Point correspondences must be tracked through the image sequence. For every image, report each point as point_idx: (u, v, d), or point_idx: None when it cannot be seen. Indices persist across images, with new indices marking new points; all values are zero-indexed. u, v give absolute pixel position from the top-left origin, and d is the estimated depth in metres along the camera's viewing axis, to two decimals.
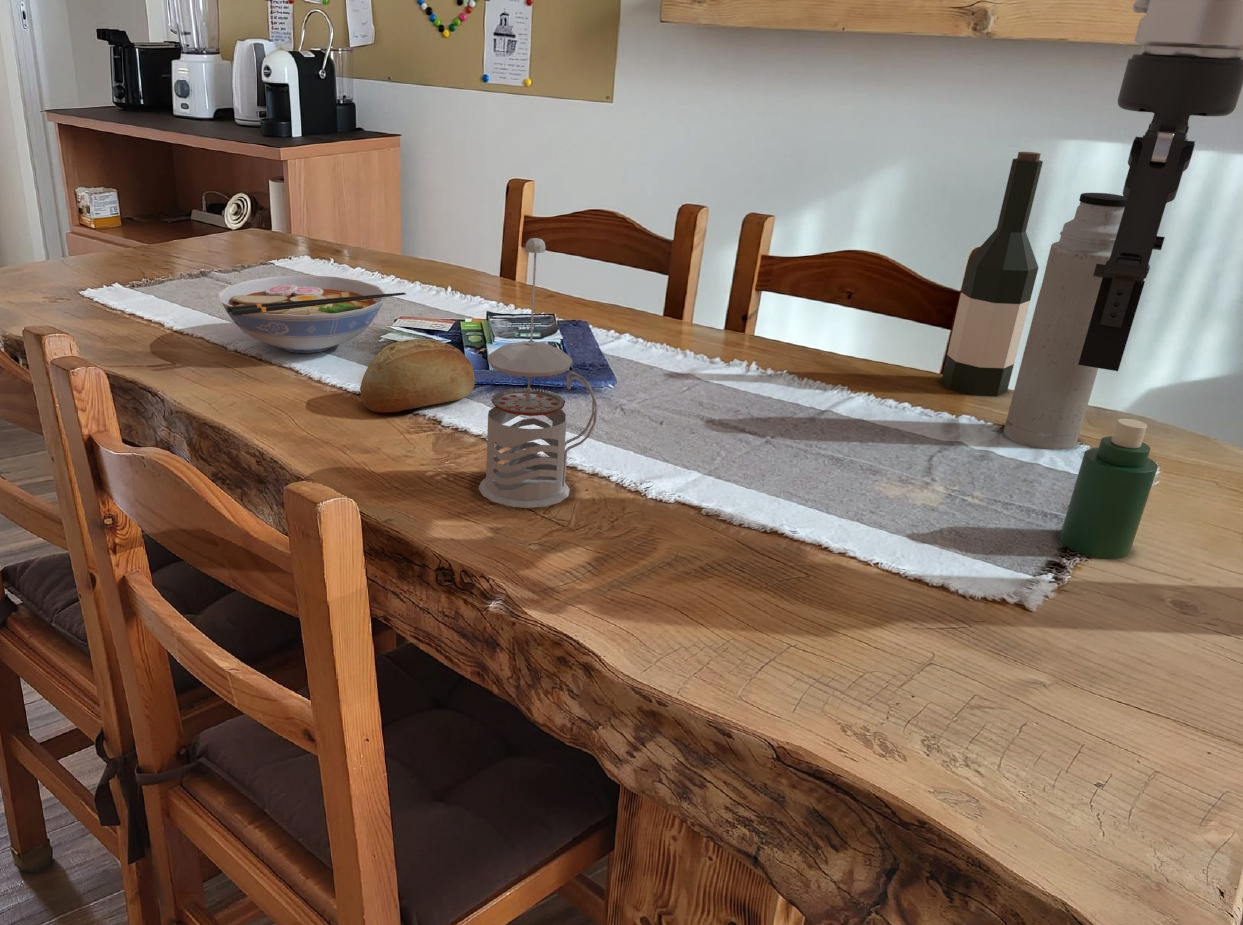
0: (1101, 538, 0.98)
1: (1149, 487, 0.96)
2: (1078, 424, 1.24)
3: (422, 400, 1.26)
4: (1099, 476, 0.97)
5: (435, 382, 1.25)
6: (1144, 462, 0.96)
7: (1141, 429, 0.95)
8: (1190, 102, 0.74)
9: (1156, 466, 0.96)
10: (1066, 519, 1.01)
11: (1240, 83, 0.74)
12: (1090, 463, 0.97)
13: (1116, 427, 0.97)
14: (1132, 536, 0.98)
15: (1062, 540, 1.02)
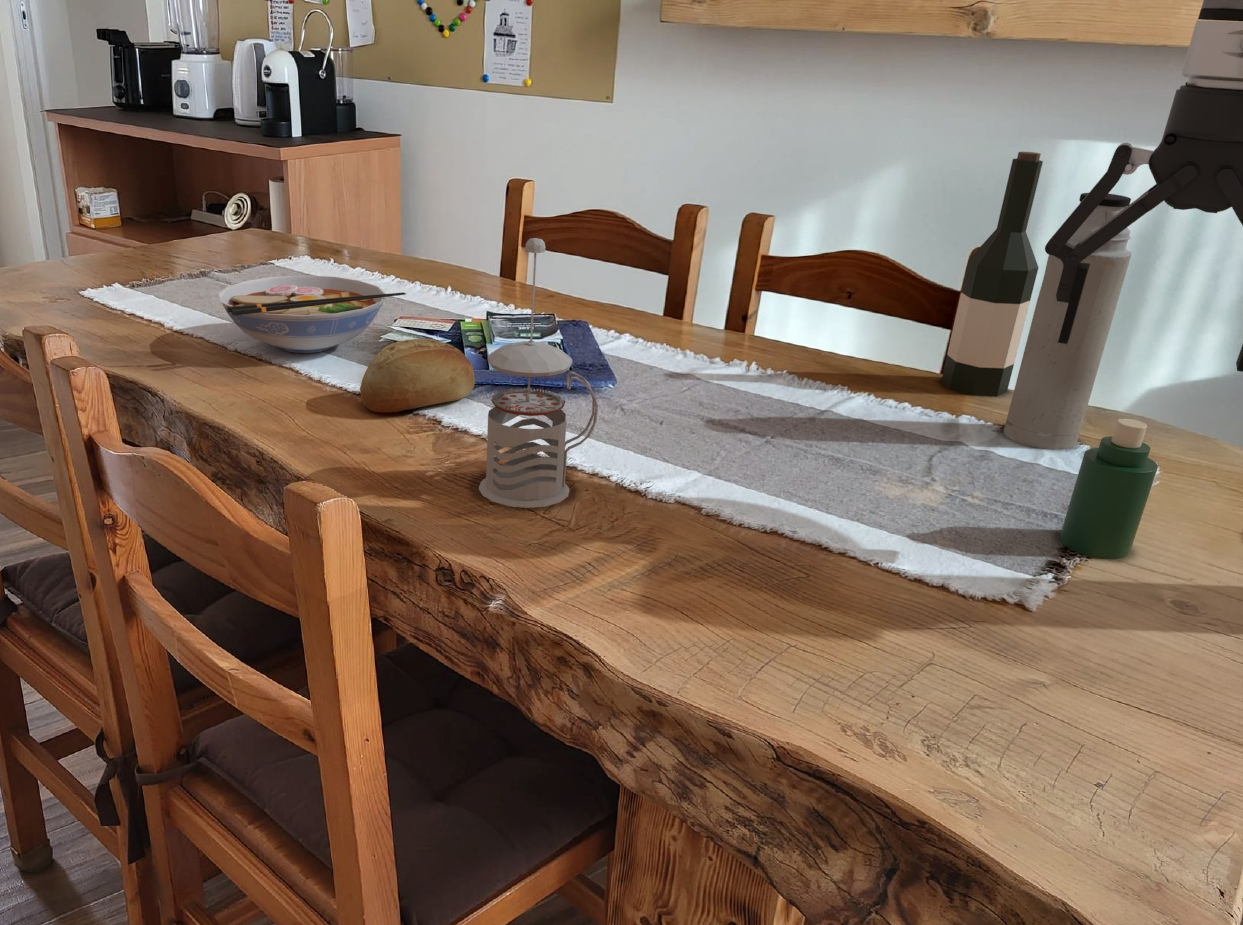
0: (1101, 538, 0.98)
1: (1149, 487, 0.96)
2: (1078, 424, 1.24)
3: (422, 400, 1.26)
4: (1099, 476, 0.97)
5: (435, 382, 1.25)
6: (1144, 462, 0.96)
7: (1141, 429, 0.95)
8: None
9: (1156, 466, 0.96)
10: (1066, 519, 1.01)
11: None
12: (1090, 463, 0.97)
13: (1116, 427, 0.97)
14: (1132, 536, 0.98)
15: (1062, 540, 1.02)
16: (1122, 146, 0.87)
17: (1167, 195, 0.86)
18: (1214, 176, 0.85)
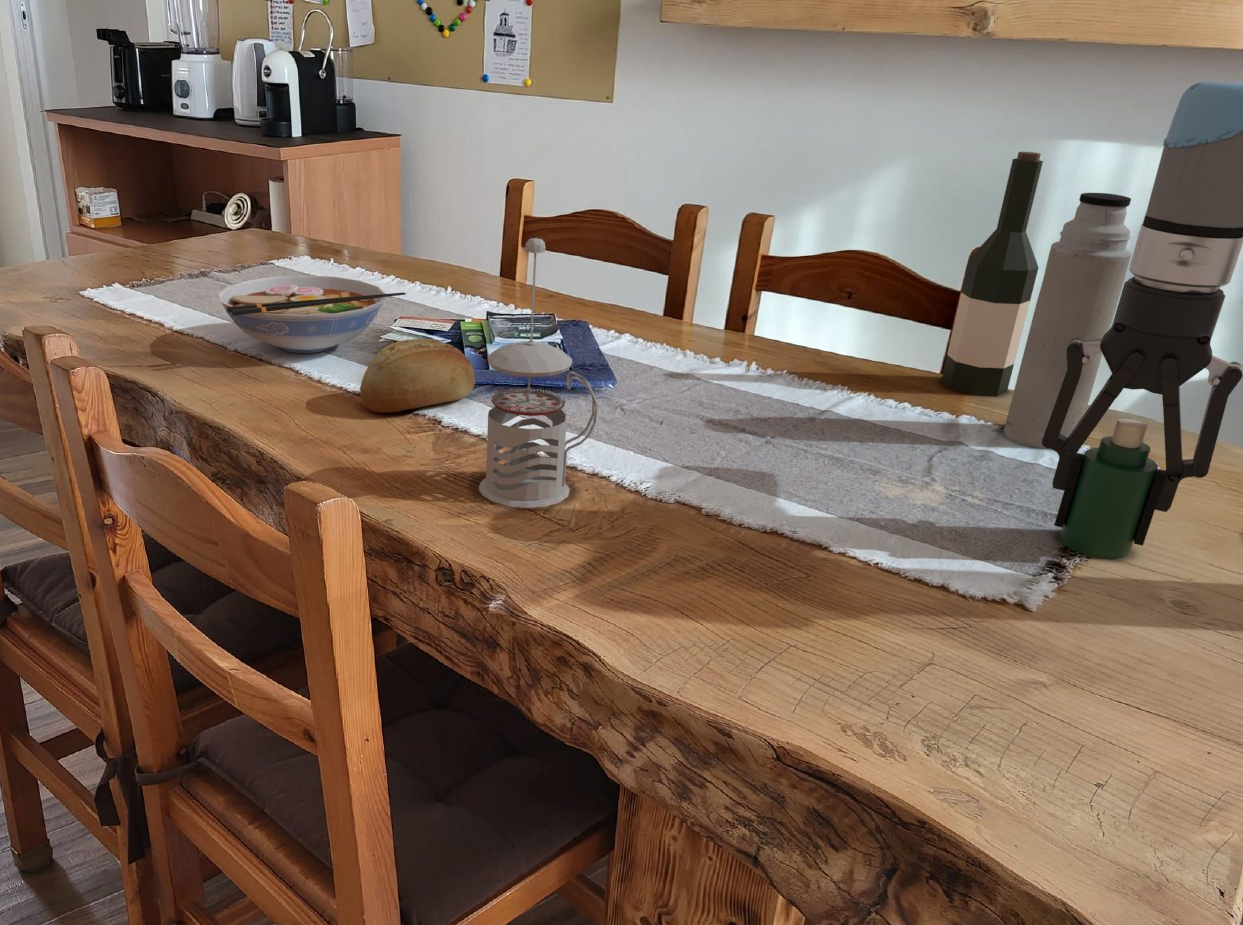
0: (1101, 538, 0.98)
1: (1149, 487, 0.96)
2: None
3: (422, 400, 1.26)
4: (1099, 476, 0.97)
5: (435, 382, 1.25)
6: (1144, 462, 0.96)
7: (1141, 429, 0.95)
8: None
9: (1156, 466, 0.96)
10: (1066, 519, 1.01)
11: None
12: (1090, 463, 0.97)
13: (1116, 427, 0.97)
14: (1132, 536, 0.98)
15: (1062, 540, 1.02)
16: (1071, 345, 0.95)
17: (1125, 381, 0.94)
18: (1160, 359, 0.92)
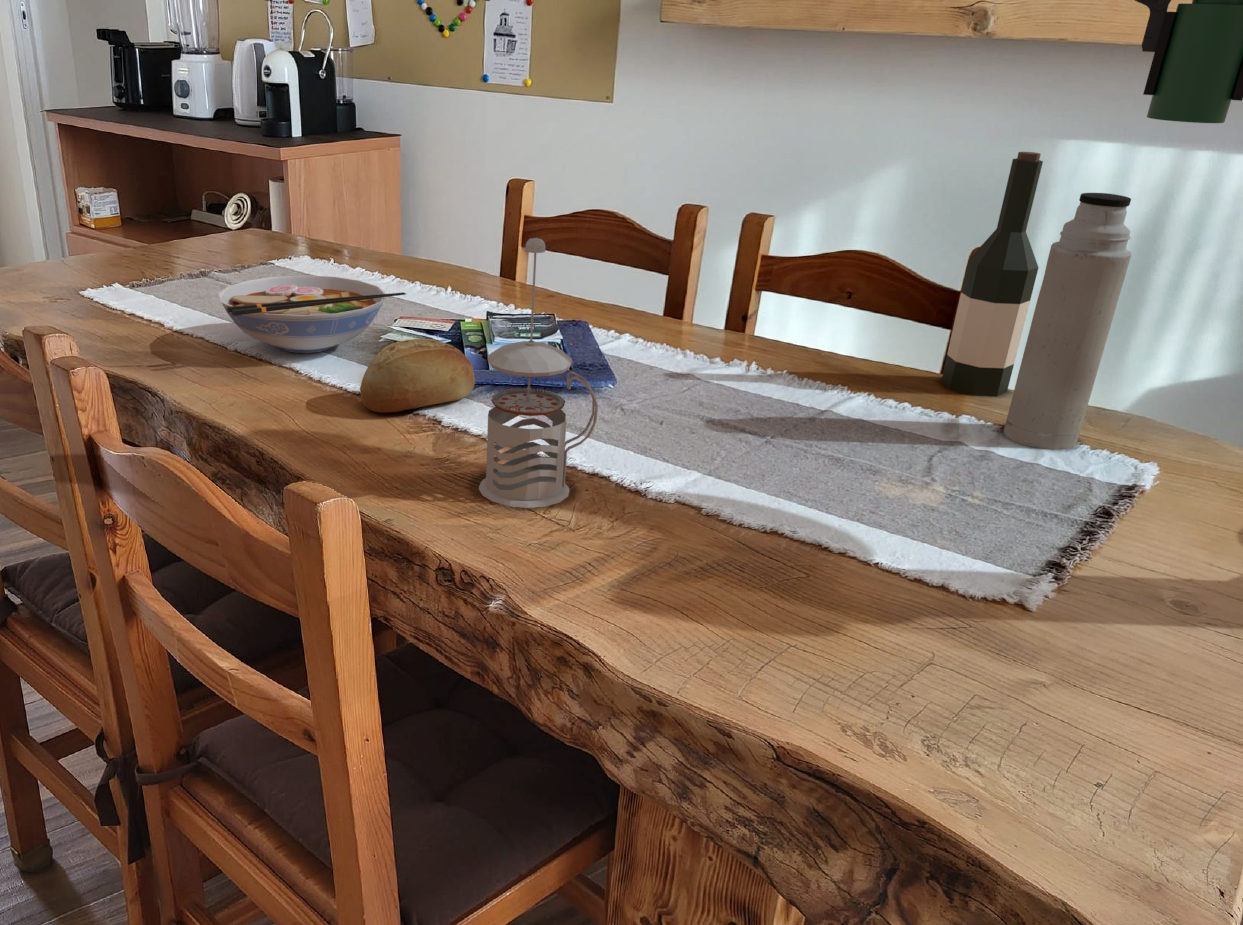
0: (1198, 93, 0.91)
1: None
2: (1078, 424, 1.24)
3: (422, 400, 1.26)
4: (1196, 18, 0.89)
5: (435, 382, 1.25)
6: None
7: None
8: None
9: None
10: (1156, 86, 0.94)
11: None
12: (1186, 7, 0.90)
13: None
14: (1230, 91, 0.91)
15: (1152, 111, 0.94)
16: None
17: None
18: None
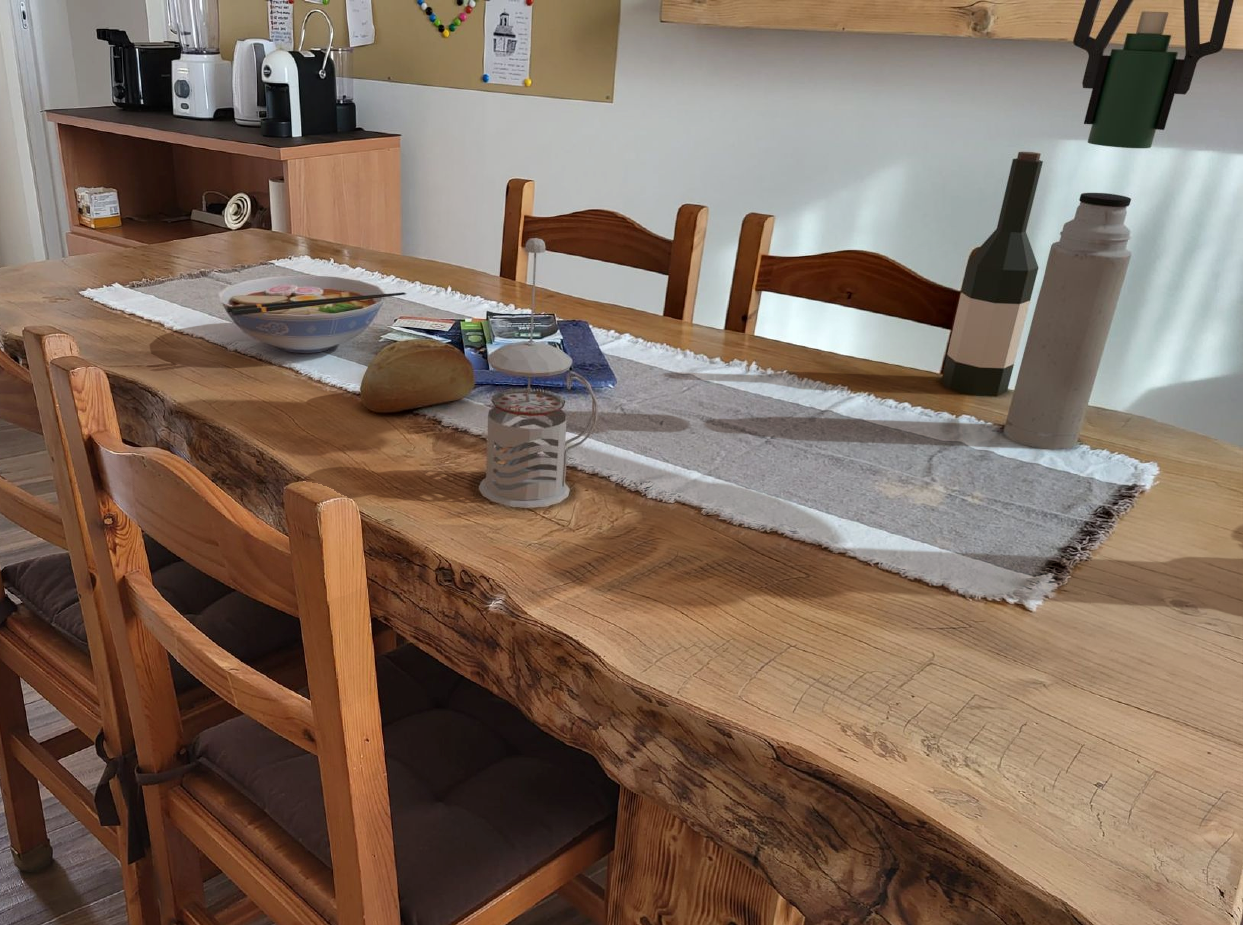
0: (1127, 123, 1.10)
1: (1170, 70, 1.08)
2: (1078, 424, 1.24)
3: (422, 400, 1.26)
4: (1125, 62, 1.08)
5: (435, 382, 1.25)
6: (1166, 47, 1.07)
7: (1163, 14, 1.07)
8: None
9: None
10: (1094, 117, 1.13)
11: None
12: (1117, 52, 1.09)
13: (1140, 17, 1.08)
14: (1154, 122, 1.10)
15: (1091, 137, 1.13)
16: None
17: None
18: None
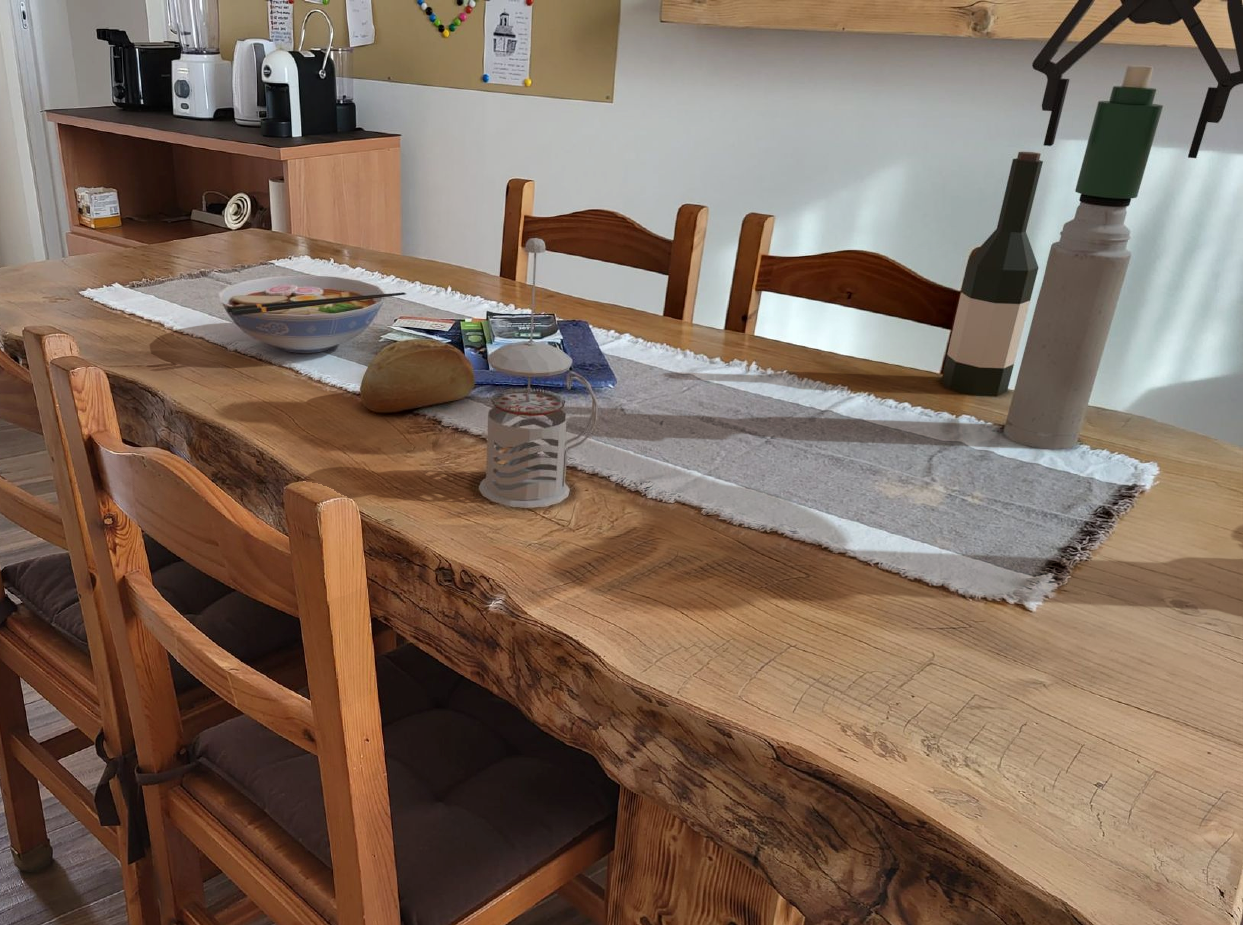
0: (1113, 174, 1.12)
1: (1155, 123, 1.10)
2: (1078, 424, 1.24)
3: (422, 400, 1.26)
4: (1111, 115, 1.10)
5: (435, 382, 1.25)
6: (1151, 100, 1.10)
7: (1148, 68, 1.09)
8: None
9: (1161, 105, 1.10)
10: (1082, 167, 1.15)
11: None
12: (1103, 105, 1.11)
13: (1126, 71, 1.10)
14: (1140, 173, 1.12)
15: (1078, 186, 1.15)
16: None
17: (1129, 11, 1.07)
18: None
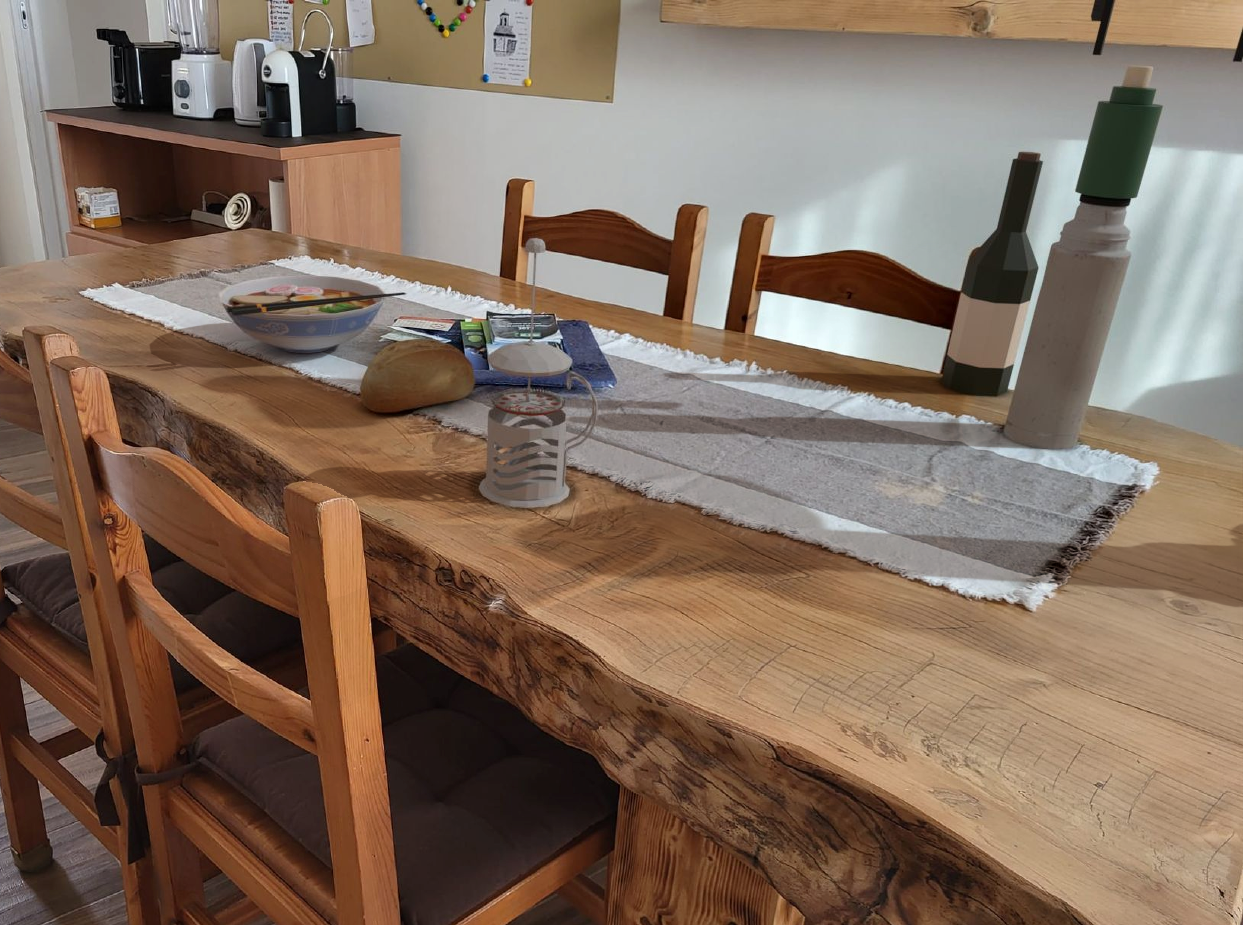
0: (1113, 174, 1.12)
1: (1155, 123, 1.10)
2: (1078, 424, 1.24)
3: (422, 400, 1.26)
4: (1111, 115, 1.10)
5: (435, 382, 1.25)
6: (1151, 100, 1.10)
7: (1148, 68, 1.09)
8: None
9: (1161, 105, 1.10)
10: (1082, 167, 1.15)
11: None
12: (1103, 105, 1.11)
13: (1126, 71, 1.10)
14: (1140, 173, 1.12)
15: (1078, 186, 1.15)
16: None
17: None
18: None
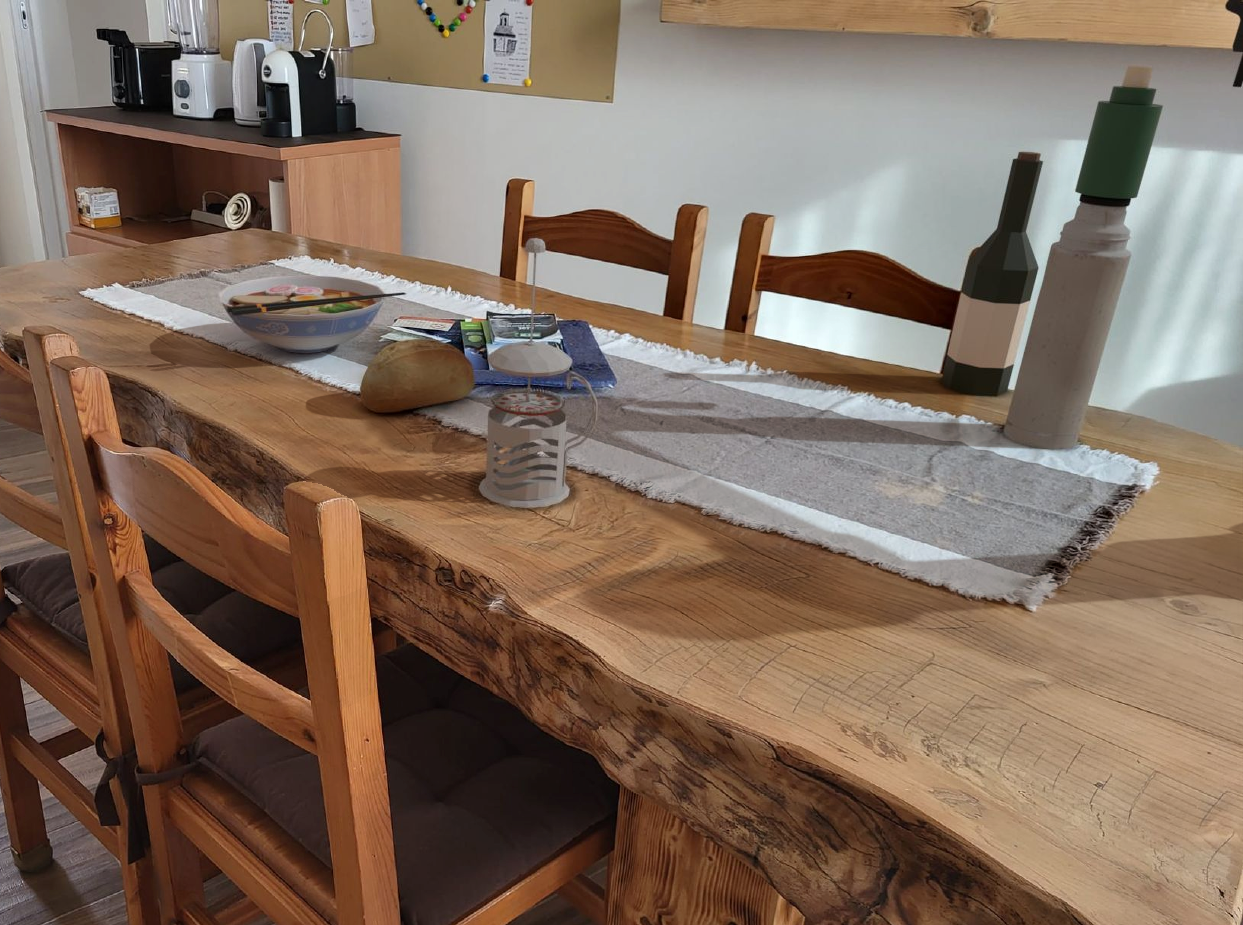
0: (1113, 174, 1.12)
1: (1155, 123, 1.10)
2: (1078, 424, 1.24)
3: (422, 400, 1.26)
4: (1111, 115, 1.10)
5: (435, 382, 1.25)
6: (1151, 100, 1.10)
7: (1148, 68, 1.09)
8: None
9: (1161, 105, 1.10)
10: (1082, 167, 1.15)
11: None
12: (1103, 105, 1.11)
13: (1126, 71, 1.10)
14: (1140, 173, 1.12)
15: (1078, 186, 1.15)
16: None
17: None
18: None
